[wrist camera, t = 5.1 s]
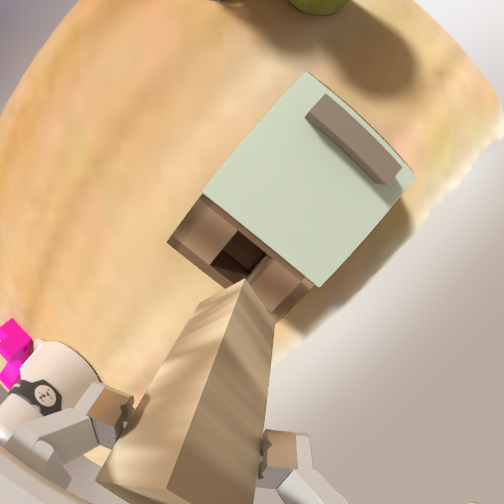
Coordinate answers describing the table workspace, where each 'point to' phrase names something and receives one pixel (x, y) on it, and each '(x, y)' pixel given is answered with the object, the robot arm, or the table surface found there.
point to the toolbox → (240, 254)
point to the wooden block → (201, 411)
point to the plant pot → (319, 6)
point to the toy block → (13, 351)
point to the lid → (310, 179)
